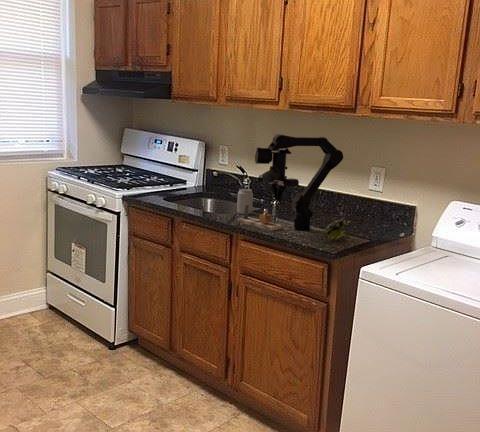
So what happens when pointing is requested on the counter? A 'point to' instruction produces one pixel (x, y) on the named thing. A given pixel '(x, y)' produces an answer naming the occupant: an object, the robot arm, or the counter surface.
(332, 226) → the green leafy plant
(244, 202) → the can
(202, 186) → the counter surface
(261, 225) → the bolt plate
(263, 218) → the orange slider block
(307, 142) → the robot arm
